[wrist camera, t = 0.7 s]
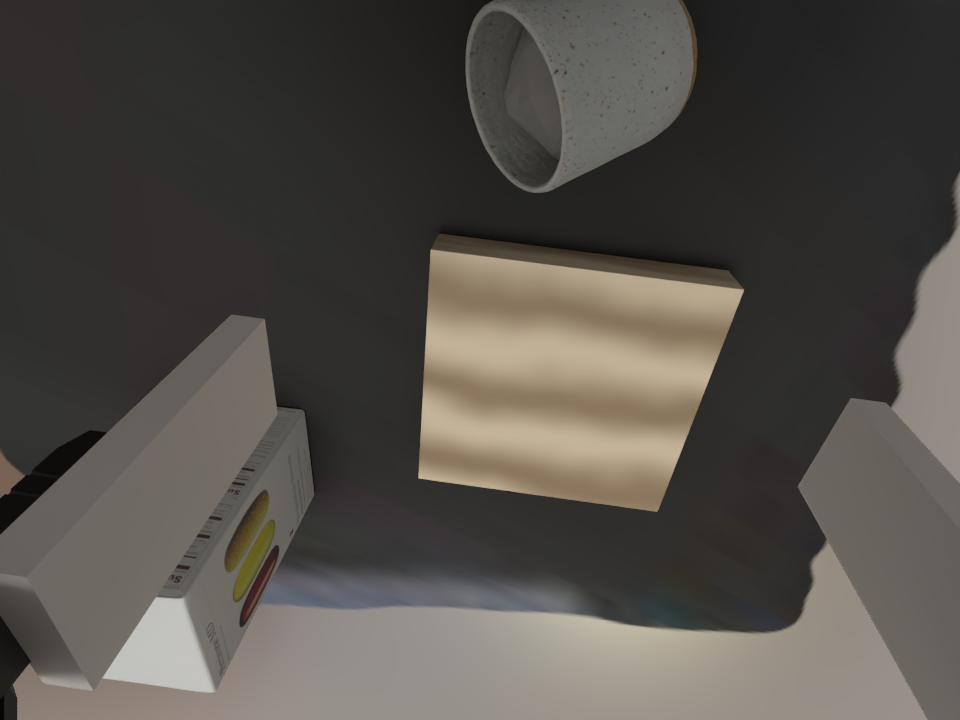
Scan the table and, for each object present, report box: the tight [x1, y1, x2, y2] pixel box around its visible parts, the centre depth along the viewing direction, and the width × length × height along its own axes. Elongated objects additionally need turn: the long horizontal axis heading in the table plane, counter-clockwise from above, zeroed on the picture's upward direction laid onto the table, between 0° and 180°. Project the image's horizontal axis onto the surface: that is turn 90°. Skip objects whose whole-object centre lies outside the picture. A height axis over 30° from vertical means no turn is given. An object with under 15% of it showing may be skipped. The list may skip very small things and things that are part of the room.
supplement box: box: [103, 407, 314, 693], centre depth 37 cm, size 10×9×17 cm
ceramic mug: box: [466, 0, 697, 193], centre depth 23 cm, size 11×8×8 cm
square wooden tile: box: [418, 234, 744, 512], centre depth 36 cm, size 18×18×3 cm
